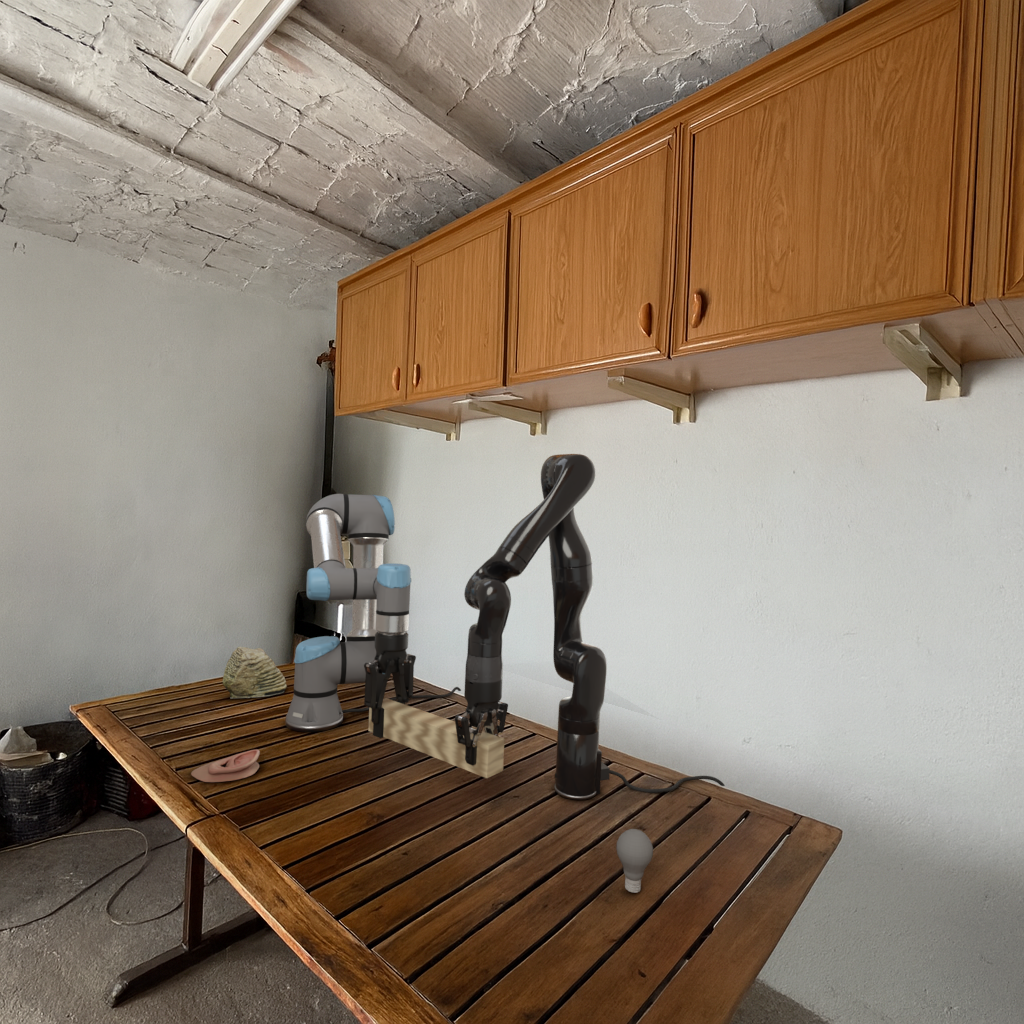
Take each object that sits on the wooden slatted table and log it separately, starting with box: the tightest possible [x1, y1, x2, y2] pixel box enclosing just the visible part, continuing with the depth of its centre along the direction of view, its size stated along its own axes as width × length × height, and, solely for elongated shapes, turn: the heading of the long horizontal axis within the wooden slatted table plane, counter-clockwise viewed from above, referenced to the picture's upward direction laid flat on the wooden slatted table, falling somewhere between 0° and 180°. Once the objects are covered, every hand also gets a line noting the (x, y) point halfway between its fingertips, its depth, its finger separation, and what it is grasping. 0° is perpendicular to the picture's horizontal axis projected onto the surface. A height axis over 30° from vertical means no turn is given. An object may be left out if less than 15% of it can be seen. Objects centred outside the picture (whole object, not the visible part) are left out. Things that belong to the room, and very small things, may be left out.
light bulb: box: [615, 828, 654, 894], centre depth 106 cm, size 6×6×10 cm
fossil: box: [222, 646, 288, 699], centre depth 198 cm, size 9×18×15 cm, turn 132°
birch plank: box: [367, 697, 505, 779], centre depth 136 cm, size 36×5×6 cm, turn 52°
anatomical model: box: [190, 748, 261, 783], centre depth 143 cm, size 13×4×12 cm
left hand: (387, 732), depth 145 cm, fingers closed on birch plank, 5 cm apart
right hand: (480, 759), depth 128 cm, fingers closed on birch plank, 5 cm apart
